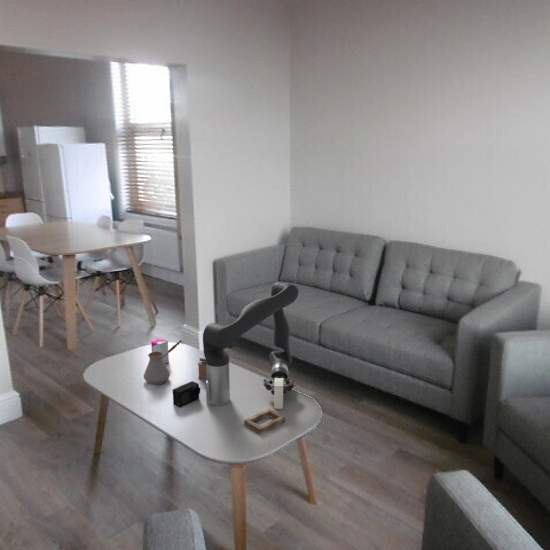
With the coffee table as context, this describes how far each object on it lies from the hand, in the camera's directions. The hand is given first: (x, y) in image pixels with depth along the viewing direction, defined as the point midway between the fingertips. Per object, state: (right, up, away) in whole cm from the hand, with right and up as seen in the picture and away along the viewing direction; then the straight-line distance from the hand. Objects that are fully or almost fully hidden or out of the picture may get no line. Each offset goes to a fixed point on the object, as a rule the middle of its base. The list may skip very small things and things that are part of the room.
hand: (278, 393), depth 211 cm
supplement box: (-57, +5, +42) cm, 71 cm away
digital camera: (-38, -5, +5) cm, 38 cm away
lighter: (-32, 0, +26) cm, 41 cm away
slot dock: (-5, -9, -10) cm, 15 cm away
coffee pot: (-51, +1, +28) cm, 58 cm away
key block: (0, -5, +3) cm, 6 cm away
